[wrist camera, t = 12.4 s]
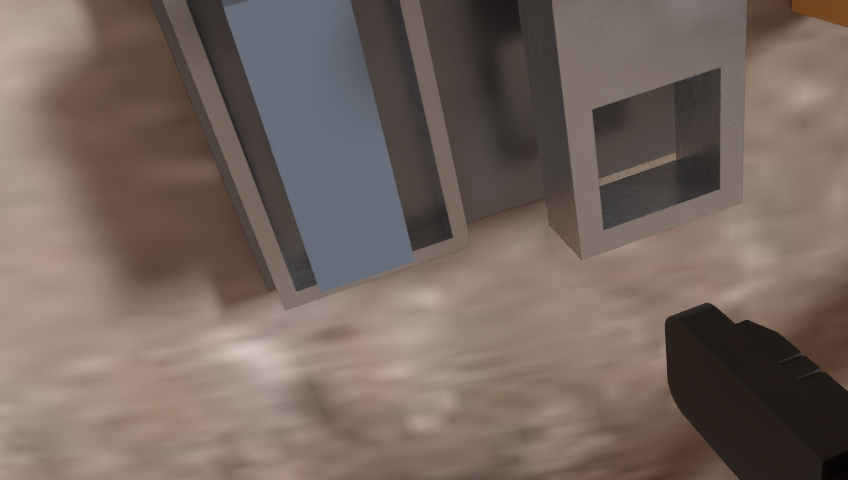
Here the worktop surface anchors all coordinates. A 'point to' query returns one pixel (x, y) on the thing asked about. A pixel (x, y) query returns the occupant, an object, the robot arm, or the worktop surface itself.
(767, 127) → the worktop surface
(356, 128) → the blue rectangular block
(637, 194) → the gray desk organizer
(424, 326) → the worktop surface
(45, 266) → the worktop surface
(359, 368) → the worktop surface
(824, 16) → the orange brown bar
